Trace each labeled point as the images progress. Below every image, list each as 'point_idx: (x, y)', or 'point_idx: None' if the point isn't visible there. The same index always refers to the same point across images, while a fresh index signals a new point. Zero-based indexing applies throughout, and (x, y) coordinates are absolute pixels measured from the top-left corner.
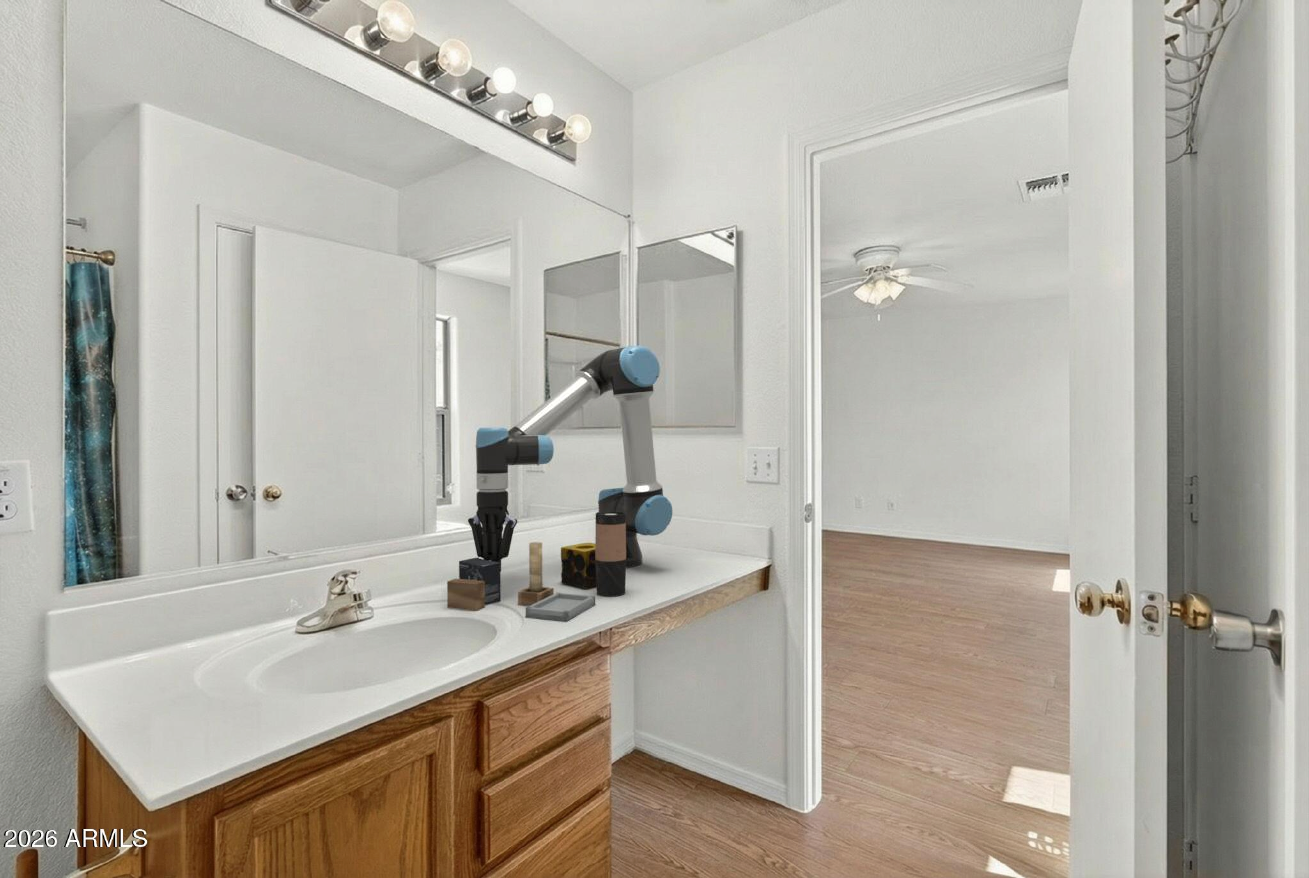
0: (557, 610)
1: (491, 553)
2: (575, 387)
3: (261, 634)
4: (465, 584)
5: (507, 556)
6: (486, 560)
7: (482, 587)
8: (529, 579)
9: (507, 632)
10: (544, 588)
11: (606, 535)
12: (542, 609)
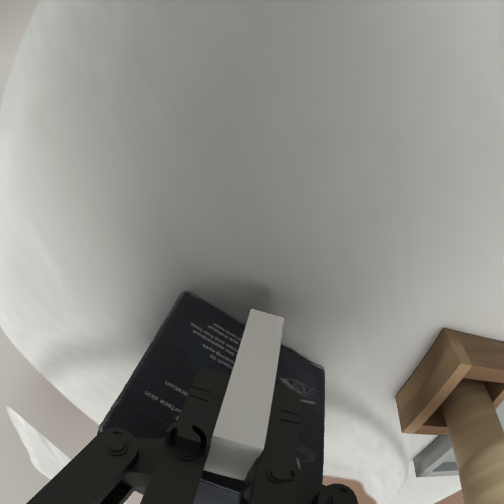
0: None
1: (191, 481)
2: None
3: (41, 444)
4: None
5: (349, 491)
6: (216, 494)
7: None
8: (453, 448)
9: (377, 499)
10: (498, 381)
11: None
12: (450, 474)
